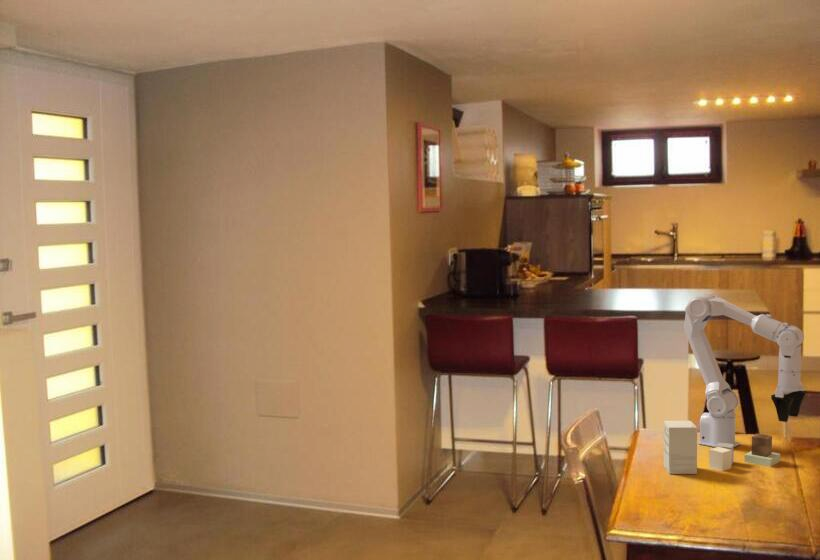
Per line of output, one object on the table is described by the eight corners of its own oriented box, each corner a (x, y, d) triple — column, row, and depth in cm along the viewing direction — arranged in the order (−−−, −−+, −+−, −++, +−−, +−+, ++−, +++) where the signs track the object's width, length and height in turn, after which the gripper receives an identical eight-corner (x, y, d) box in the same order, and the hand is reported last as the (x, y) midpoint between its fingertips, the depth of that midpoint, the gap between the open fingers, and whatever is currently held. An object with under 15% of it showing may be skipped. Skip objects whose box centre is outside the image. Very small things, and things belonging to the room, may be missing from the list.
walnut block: (751, 454, 235) (752, 436, 234) (756, 451, 238) (757, 433, 237) (766, 457, 232) (767, 439, 232) (771, 453, 235) (772, 435, 235)
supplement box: (690, 466, 232) (691, 420, 231) (697, 474, 224) (698, 427, 223) (662, 465, 233) (663, 419, 231) (668, 474, 225) (668, 427, 224)
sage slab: (744, 463, 235) (744, 454, 235) (754, 457, 240) (754, 449, 240) (770, 468, 230) (770, 459, 230) (780, 462, 235) (780, 453, 235)
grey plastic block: (715, 464, 234) (716, 445, 233) (718, 460, 237) (718, 442, 237) (731, 466, 232) (731, 447, 231) (733, 462, 235) (733, 444, 235)
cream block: (709, 467, 231) (709, 449, 230) (718, 464, 233) (718, 446, 232) (722, 471, 227) (722, 452, 227) (731, 468, 230) (731, 450, 229)
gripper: (794, 376, 230) (793, 426, 231) (814, 368, 241) (812, 416, 242) (768, 373, 235) (766, 421, 236) (788, 365, 245) (787, 412, 247)
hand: (788, 418), depth 239 cm, fingers open, 7 cm apart
